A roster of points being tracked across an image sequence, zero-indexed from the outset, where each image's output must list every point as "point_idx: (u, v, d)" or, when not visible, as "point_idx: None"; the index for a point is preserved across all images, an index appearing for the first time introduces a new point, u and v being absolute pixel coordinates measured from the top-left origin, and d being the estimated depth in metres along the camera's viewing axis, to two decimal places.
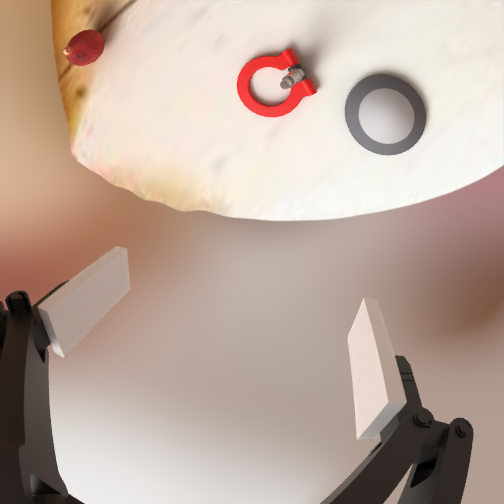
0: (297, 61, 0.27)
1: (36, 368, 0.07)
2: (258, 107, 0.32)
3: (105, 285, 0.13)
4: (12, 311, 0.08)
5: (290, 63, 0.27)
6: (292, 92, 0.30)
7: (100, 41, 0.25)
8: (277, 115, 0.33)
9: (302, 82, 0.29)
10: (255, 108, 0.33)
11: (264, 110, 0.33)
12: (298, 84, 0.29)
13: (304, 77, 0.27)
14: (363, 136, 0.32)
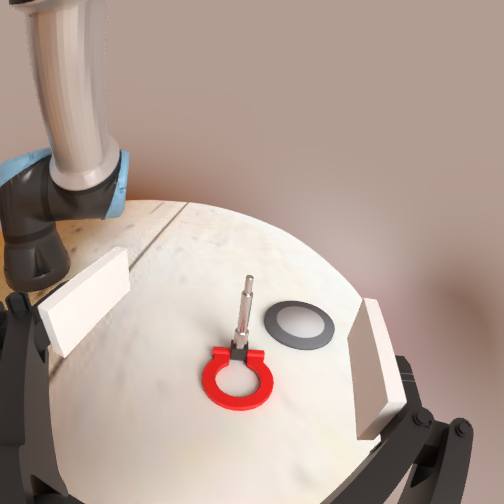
0: (228, 348, 0.35)
1: (36, 368, 0.07)
2: (253, 397, 0.28)
3: (105, 285, 0.13)
4: (12, 311, 0.08)
5: (227, 351, 0.34)
6: (254, 365, 0.33)
7: None
8: (271, 387, 0.30)
9: (249, 353, 0.34)
10: (253, 400, 0.28)
11: (259, 394, 0.29)
12: (249, 358, 0.34)
13: None
14: (314, 339, 0.38)
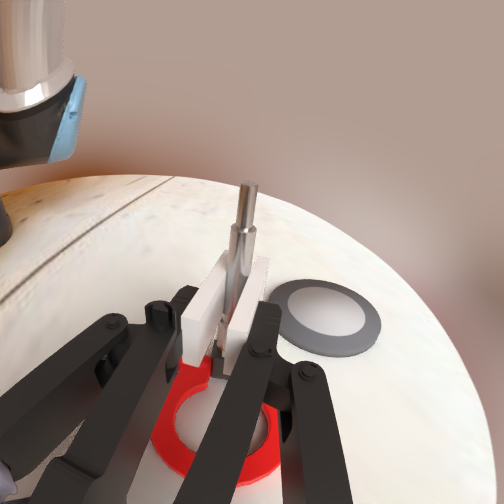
0: (209, 355, 0.18)
1: (156, 391, 0.08)
2: (251, 463, 0.11)
3: None
4: (150, 319, 0.10)
5: (205, 362, 0.17)
6: None
7: None
8: None
9: None
10: (249, 470, 0.11)
11: (265, 457, 0.12)
12: None
13: None
14: (354, 338, 0.22)
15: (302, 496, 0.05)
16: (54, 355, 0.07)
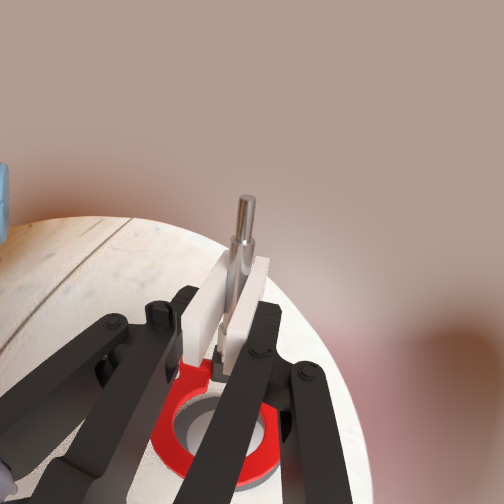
0: (210, 360, 0.18)
1: (156, 391, 0.08)
2: (244, 465, 0.12)
3: (225, 289, 0.14)
4: (150, 319, 0.10)
5: (205, 366, 0.17)
6: None
7: None
8: None
9: None
10: (242, 472, 0.11)
11: (259, 460, 0.12)
12: None
13: None
14: None
15: (301, 496, 0.05)
16: (54, 354, 0.07)
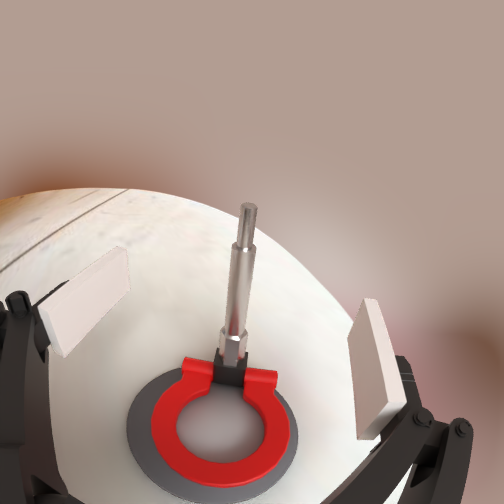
0: (212, 362, 0.19)
1: (36, 368, 0.07)
2: (245, 466, 0.12)
3: (105, 285, 0.13)
4: (12, 311, 0.08)
5: (207, 369, 0.18)
6: (256, 399, 0.16)
7: None
8: (284, 445, 0.13)
9: (249, 375, 0.18)
10: (243, 472, 0.11)
11: (259, 460, 0.12)
12: (248, 384, 0.17)
13: None
14: None
15: None
16: None
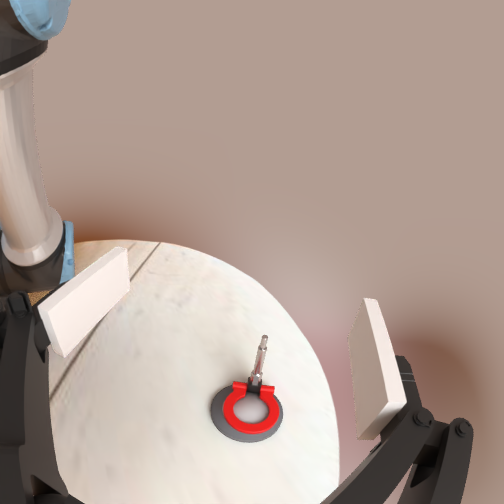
0: (245, 383, 0.41)
1: (36, 368, 0.07)
2: (262, 424, 0.34)
3: (105, 285, 0.13)
4: (12, 311, 0.08)
5: (244, 386, 0.40)
6: (265, 398, 0.39)
7: None
8: (277, 417, 0.36)
9: (262, 388, 0.40)
10: (261, 427, 0.34)
11: (267, 422, 0.35)
12: (262, 392, 0.40)
13: None
14: None
15: None
16: None
